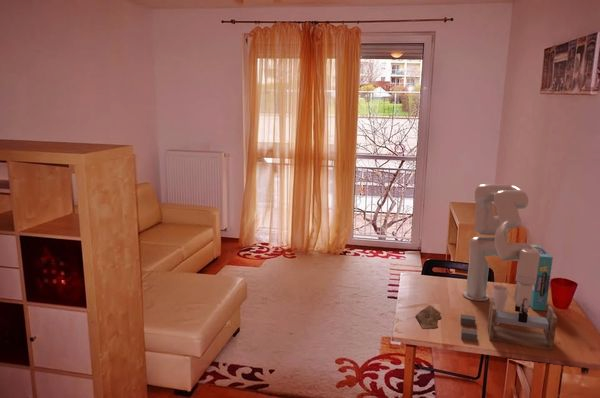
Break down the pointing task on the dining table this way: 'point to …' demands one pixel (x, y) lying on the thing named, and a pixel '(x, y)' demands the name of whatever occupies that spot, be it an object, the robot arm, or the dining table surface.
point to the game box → (541, 280)
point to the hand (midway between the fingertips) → (520, 316)
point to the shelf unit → (522, 331)
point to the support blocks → (468, 333)
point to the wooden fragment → (428, 317)
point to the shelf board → (513, 320)
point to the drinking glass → (499, 296)
